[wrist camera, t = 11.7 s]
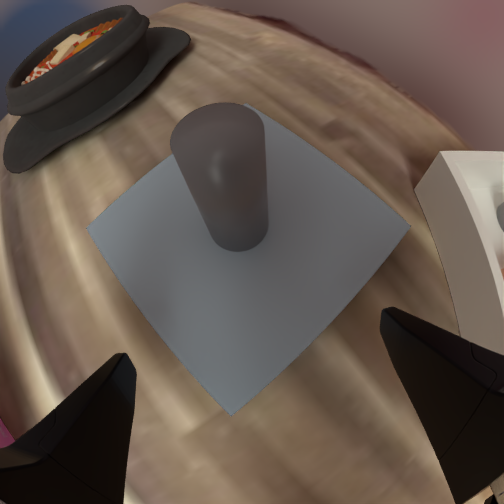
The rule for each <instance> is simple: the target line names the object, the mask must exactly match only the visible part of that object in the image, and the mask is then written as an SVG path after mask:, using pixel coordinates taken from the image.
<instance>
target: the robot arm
mask: <svg viewBox="0 0 504 504" xmlns="http://www.w3.org/2000/svg"><path fill="white" fill-rule="evenodd" d="M380 333H381V336H382V338H383V341H384V343H385V346H386V348H387V351H388V353H389V356H390V359H391V361H392V364H393V366H394V368H395V370H396V373H397V374H398V376H399V378H400V380H401V382H402V384H403V386H404V388H405V390H406V392H407V394H408V396H409V398H410V400H411V402H412V404H413V406H414V408H415V410H416V412H417V414H418V416H419V419H420V421H421V423H422V425H423V427H424V429H425V431H426V433H427V436H428V438H429V440H430V442H431V445H432V447H433V449H434V451H435V454H436V456H437V458H438V460H439V463H440V466H441V468H442V470H443V473H444V475H445V478H446V480H447V483H448V485H449V488H450V490H451V493H452V496H453V498H454V501H455V504H464V503H465V502H467V501H468V500H470V499H472V498H473V497H475V496H476V495H478V494H479V493H481V492H482V491H484V490H485V489H486V488H488V487H489V486H490V488H491V490H492V492H493V495H492V496H490V497H489V498H487V499H486V500H485V502H484V504H504V355H502V354H499V353H496V352H494V351H491V350H489V349H486V348H484V347H482V346H479V345H477V344H475V343H473V342H469V341H468V340H466V339H464V338H462V337H460V336H457V335H455V334H453V333H451V332H449V331H446V330H444V329H442V328H440V327H438V326H435V325H433V324H431V323H429V322H427V321H424V320H422V319H420V318H418V317H416V316H413V315H411V314H409V313H407V312H404V311H402V310H400V309H398V308H396V307H388V308H385V309H383V310H382V312H381V320H380ZM136 377H137V372H136V369H135V367H134V365H133V363H132V362H131V360H130V358H129V356H128V355H127V354H126V353H116V354H115V355H113V356H112V357H111V358H110V359H109V360H108V361H107V362H106V363H104V364H103V365H102V366H101V367H100V368H99V369H98V370H97V371H96V372H94V373H93V374H92V375H91V376H90V377H89V378H88V379H87V380H86V381H84V382H83V383H82V384H81V385H80V386H79V387H78V388H77V389H76V390H74V391H73V392H72V393H71V394H70V395H69V396H68V397H67V398H66V399H65V400H63V401H62V402H61V403H60V404H59V405H58V406H57V407H56V408H55V409H53V410H52V411H51V412H50V413H49V414H48V415H47V416H46V417H45V418H43V419H42V420H41V421H40V422H39V423H38V424H36V425H35V426H34V427H33V428H31V429H30V430H29V431H27V432H26V433H25V434H24V435H22V436H21V437H20V438H18V439H17V440H16V441H14V442H13V443H12V444H10V445H9V446H6V447H3V448H0V504H123V502H124V489H125V478H126V468H127V460H128V451H129V444H130V436H131V429H132V423H133V416H134V409H135V392H136Z"/></svg>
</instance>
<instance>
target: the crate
mask: <svg viewBox="0 0 504 504" xmlns="http://www.w3.org/2000/svg"><path fill="white" fill-rule="evenodd" d="M414 192H415V194H416V196H417V198H418V201H419V203H420V205H421V208H422V210H423V213H424V215H425V218H426V220H427V223H428V225H429V228H430V231H431V233H432V236H433V239H434V241H435V244H436V247H437V250H438V253H439V256H440V259H441V262H442V265H443V268H444V272H445V275H446V278H447V282H448V285H449V289H450V292H451V296H452V300H453V304H454V308H455V312H456V316H457V321H458V325H459V330H460V335H461V337H462V338H464V339H466V340H468V341H469V342H473V343H475V344H477V345H479V346H482V347H484V348H486V349H489V350H491V351H494V352H496V353H499V354H502V355H504V152H497V151H439V153H438V155H437V156H436V158H435V159H434V161H433V162H432V164H431V165H430V167H429V168H428V170H427V171H426V173H425V174H424V176H423V177H422V179H421V180H420V181H419V183H418V184H417V186H416V187H415V189H414Z"/></svg>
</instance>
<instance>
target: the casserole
mask: <svg viewBox="0 0 504 504" xmlns="http://www.w3.org/2000/svg"><path fill="white" fill-rule="evenodd" d="M149 24H150V22H149V18H147V17H146V16H144V15H141V14H139V13H138V12H137V10H136V9H135V8H134V7H132V6H130V5H121V6H115V7H111V8H107V9H104V10H101V11H98V12H95V13H93V14H90V15H88V16H86V17H83V18H81V19H79V20H78V21H76V22H74V23H72V24H70V25H69V26H67V27H65V28H63V29H62V30H60V31H59V32H57V33H56V34H54V35H53V36H51V37H50V38H49V39H47V40H46V41H45V42H43V43H42V44H41V45H40V46H39V47H37V48H36V49H35V50H34V51H33V52H32V53H31V54H30V55H29V56H28V57H27V58H26V59H25V60H24V61H23V62H22V63H21V64H20V65H19V67H18V68H17V69H16V70H15V72H14V73H13V74H12V76H11V77H10V79H9V81H8V82H7V85H6V95H7V98H8V106H7V108H8V112H9V114H10V115H15V116H21V118H20V119H19V120H18V121H17V123H16V124H15V125H14V127H13V128H12V129H11V131H10V132H9V134H8V136H7V139H6V142H5V146H4V153H3V160H4V165H5V167H6V168H7V170H9V171H10V172H12V173H22V172H24V171H26V170H29V169H30V168H32V167H33V166H34V165H35V164H36V163H38V162H39V161H40V160H41V159H43V158H44V157H45V156H47V155H48V154H49V153H51V152H52V151H53V150H55V149H56V148H58V147H60V146H61V145H63V144H65V143H67V142H69V141H71V140H72V139H74V138H76V137H78V136H80V135H82V134H84V133H86V132H88V131H90V130H91V129H93V128H94V127H96V126H98V125H99V124H101V123H103V122H104V121H106V120H107V119H109V118H110V117H111V116H113V115H114V114H116V113H117V112H118V111H120V110H121V109H123V108H124V107H125V106H126V105H128V104H129V103H130V102H131V101H132V100H134V99H135V98H136V97H137V96H139V95H140V94H141V93H142V92H143V91H144V90H145V89H146V88H147V87H148V86H149V85H150V84H151V83H152V82H153V81H154V79H155V78H156V77H157V76H158V74H159V73H160V72H161V71H162V69H163V68H164V67H165V66H166V65H167V63H168V62H169V61H170V60H171V59H173V58H174V57H175V56H176V55H178V54H179V53H180V52H181V51H182V50H183V49H185V48H186V47H187V46H188V45H189V43H190V40H191V38H190V36H189V35H188V34H187V33H186V32H184V31H182V30H179V29H175V28H168V27H154V28H148V26H149Z"/></svg>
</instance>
